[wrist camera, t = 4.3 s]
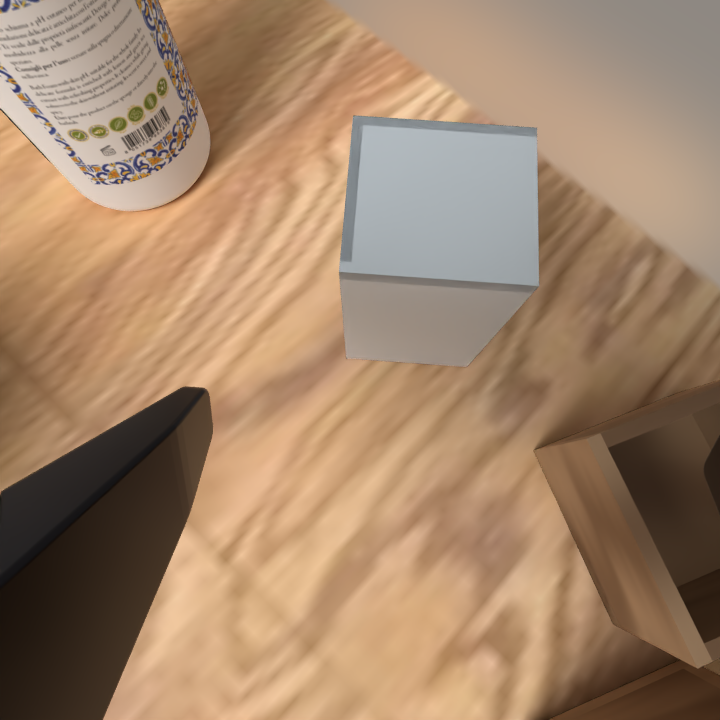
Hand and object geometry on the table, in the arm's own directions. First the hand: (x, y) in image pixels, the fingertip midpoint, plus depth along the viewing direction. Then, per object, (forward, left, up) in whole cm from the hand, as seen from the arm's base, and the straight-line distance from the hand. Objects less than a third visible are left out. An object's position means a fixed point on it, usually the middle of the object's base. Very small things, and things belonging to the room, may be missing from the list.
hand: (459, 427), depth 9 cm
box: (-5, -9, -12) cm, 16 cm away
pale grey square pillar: (+6, -3, -12) cm, 14 cm away
